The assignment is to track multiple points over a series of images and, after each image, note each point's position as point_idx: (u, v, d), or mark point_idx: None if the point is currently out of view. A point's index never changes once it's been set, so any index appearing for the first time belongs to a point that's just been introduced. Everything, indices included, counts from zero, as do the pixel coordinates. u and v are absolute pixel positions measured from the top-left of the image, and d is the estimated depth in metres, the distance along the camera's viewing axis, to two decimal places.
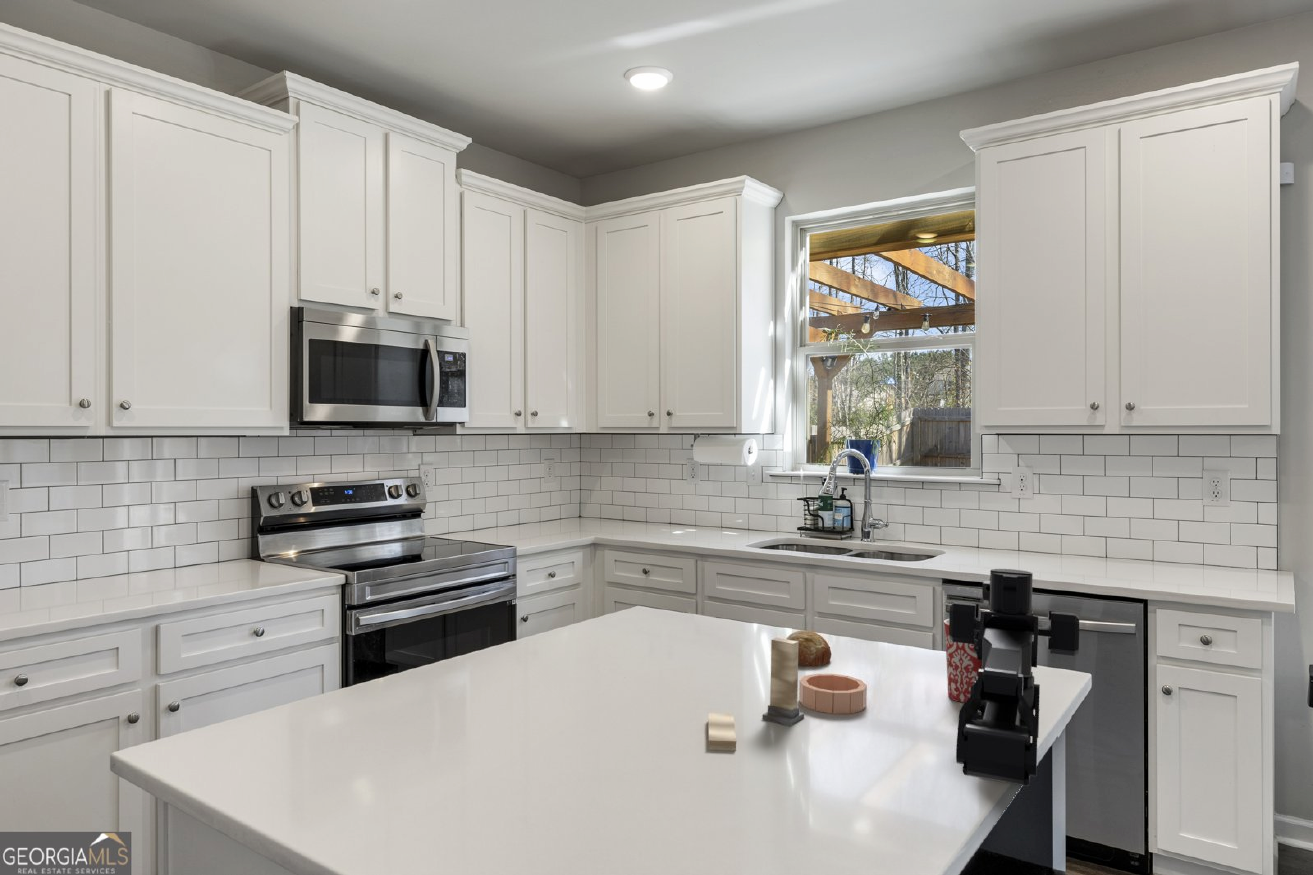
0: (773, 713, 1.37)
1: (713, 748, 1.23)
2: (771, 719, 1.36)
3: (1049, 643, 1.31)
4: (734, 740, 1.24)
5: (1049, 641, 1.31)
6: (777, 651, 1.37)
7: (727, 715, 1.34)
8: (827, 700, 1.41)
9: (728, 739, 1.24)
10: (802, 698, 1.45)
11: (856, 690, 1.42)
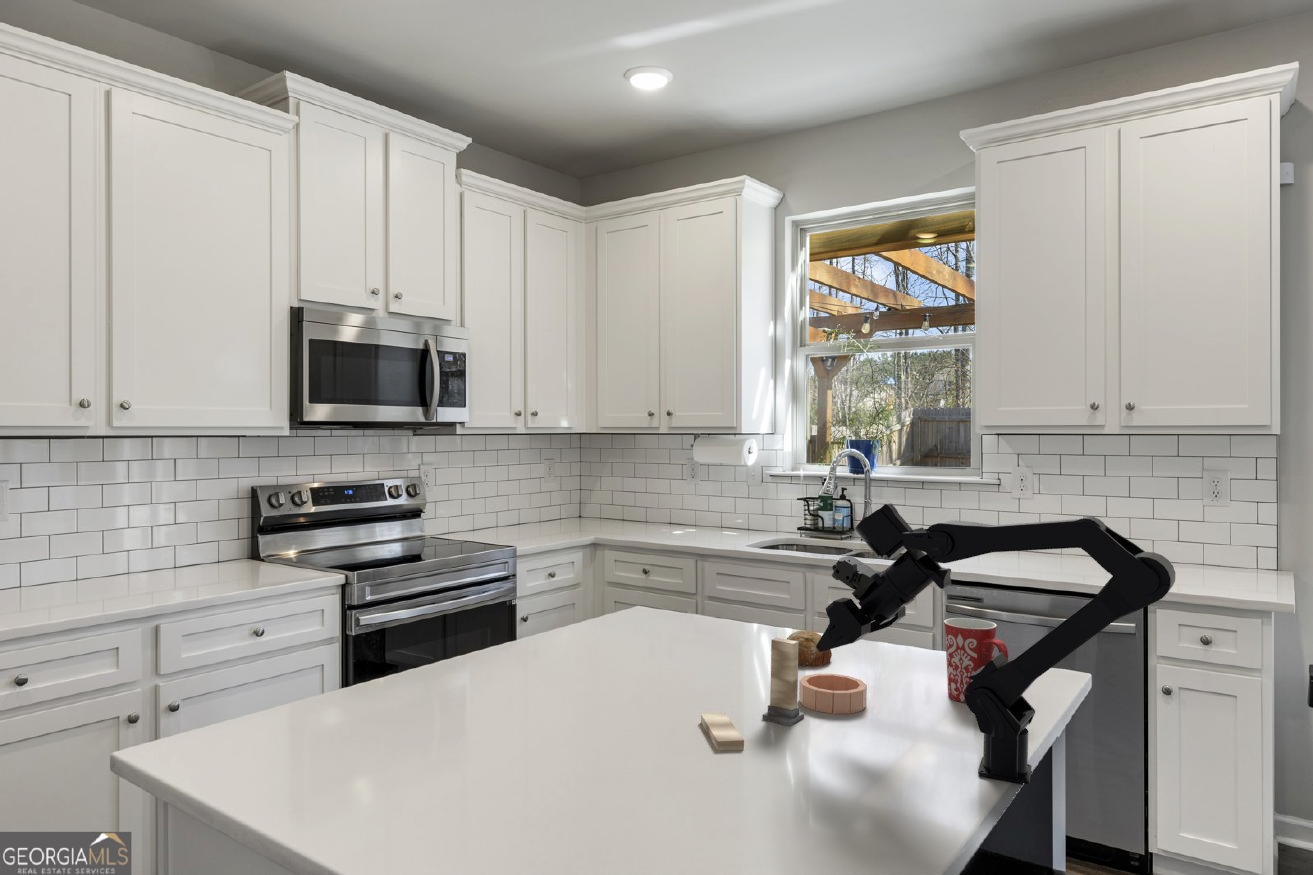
0: (773, 713, 1.37)
1: (721, 749, 1.23)
2: (771, 719, 1.36)
3: (883, 622, 1.33)
4: (741, 739, 1.24)
5: None
6: (777, 651, 1.37)
7: (720, 715, 1.34)
8: (827, 700, 1.41)
9: (736, 739, 1.24)
10: (802, 698, 1.45)
11: (856, 690, 1.42)
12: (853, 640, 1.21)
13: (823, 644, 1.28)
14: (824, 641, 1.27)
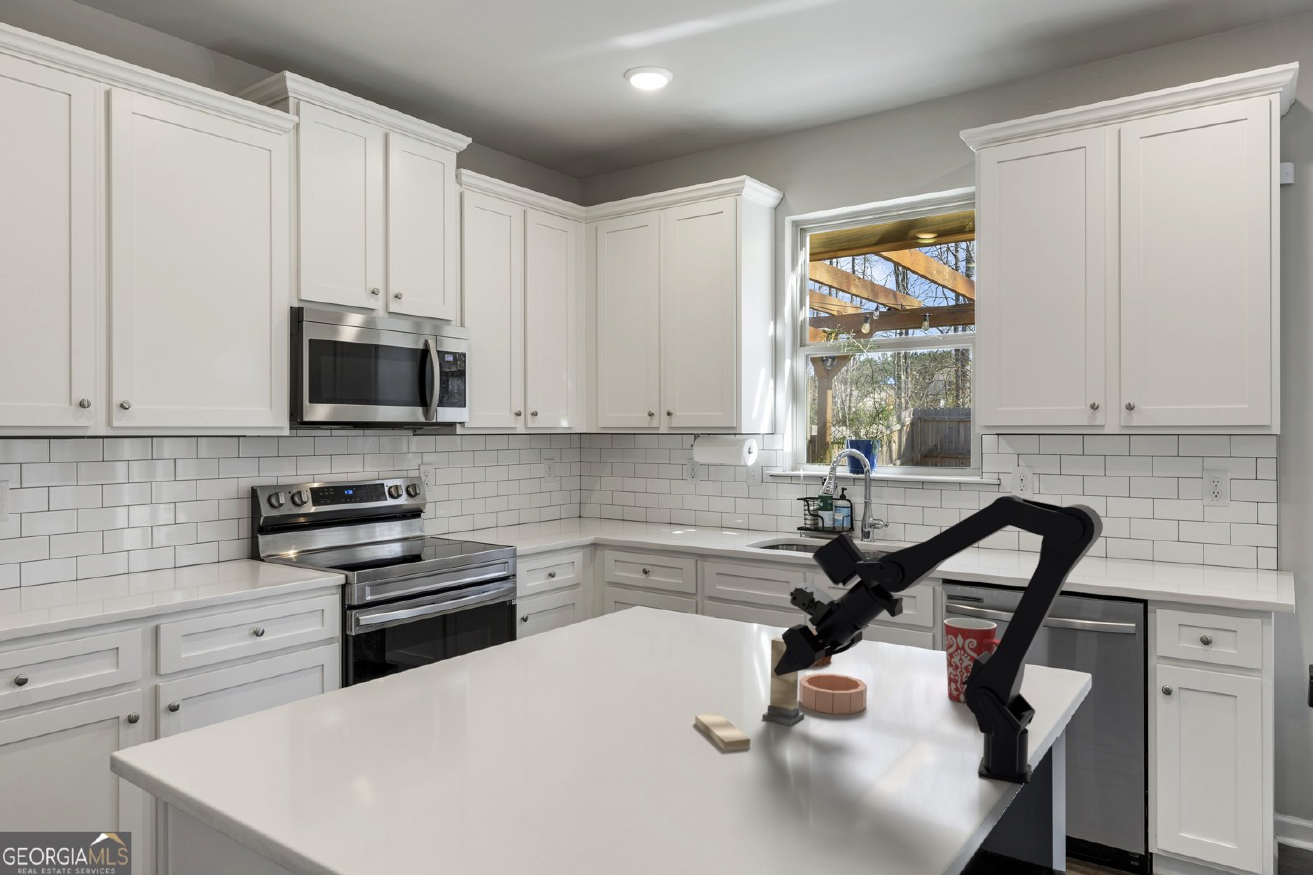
0: (773, 713, 1.37)
1: (729, 749, 1.23)
2: (771, 719, 1.36)
3: (840, 646, 1.37)
4: (747, 738, 1.25)
5: None
6: (777, 651, 1.37)
7: (715, 715, 1.34)
8: (827, 700, 1.41)
9: (741, 738, 1.25)
10: (802, 698, 1.45)
11: (856, 690, 1.42)
12: (807, 666, 1.25)
13: (780, 668, 1.32)
14: (781, 666, 1.32)
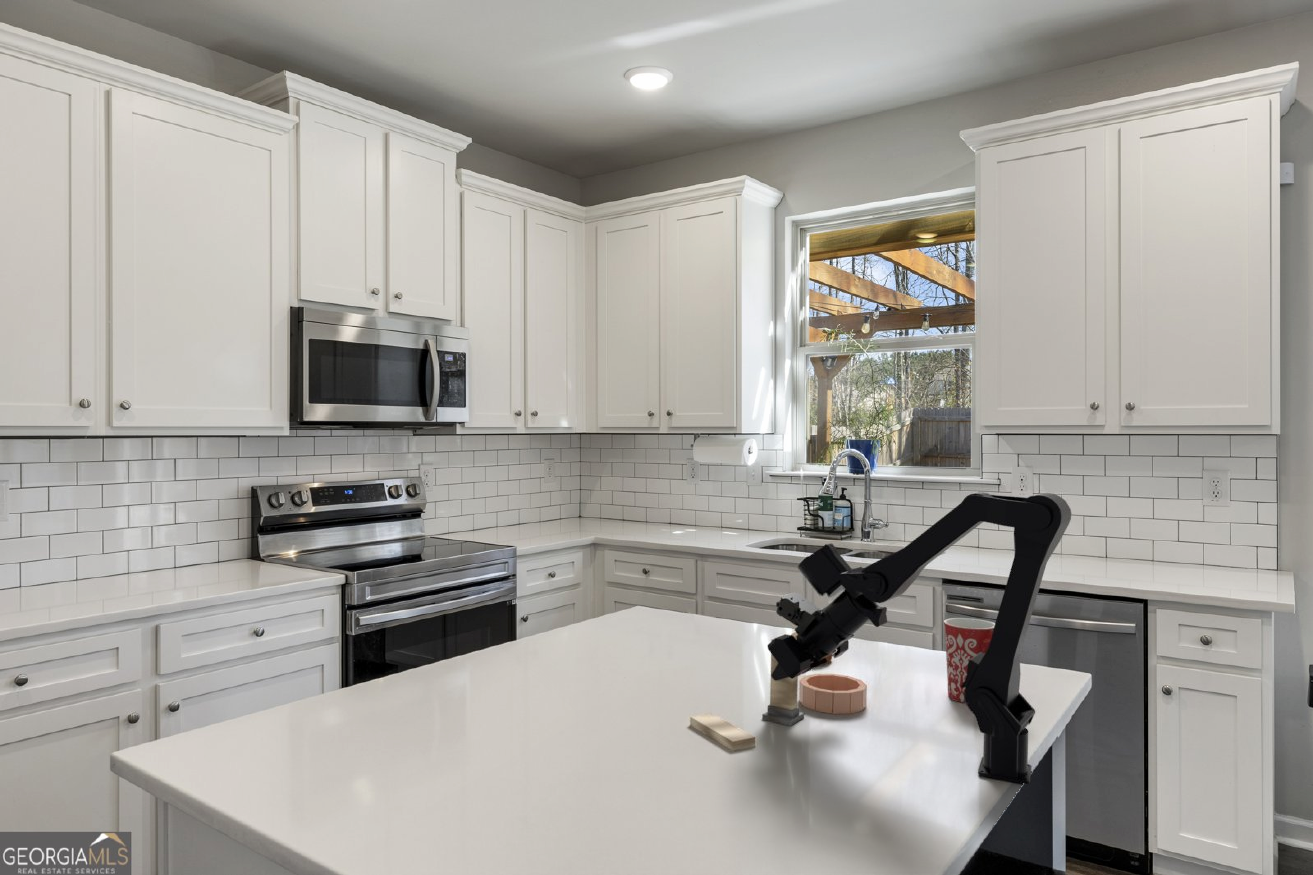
0: (773, 713, 1.37)
1: (736, 748, 1.24)
2: (771, 719, 1.36)
3: (817, 660, 1.36)
4: (752, 736, 1.25)
5: (816, 658, 1.36)
6: None
7: (709, 715, 1.34)
8: (827, 700, 1.41)
9: (747, 737, 1.25)
10: (802, 698, 1.45)
11: (856, 690, 1.42)
12: (793, 676, 1.27)
13: (778, 673, 1.36)
14: (778, 671, 1.36)
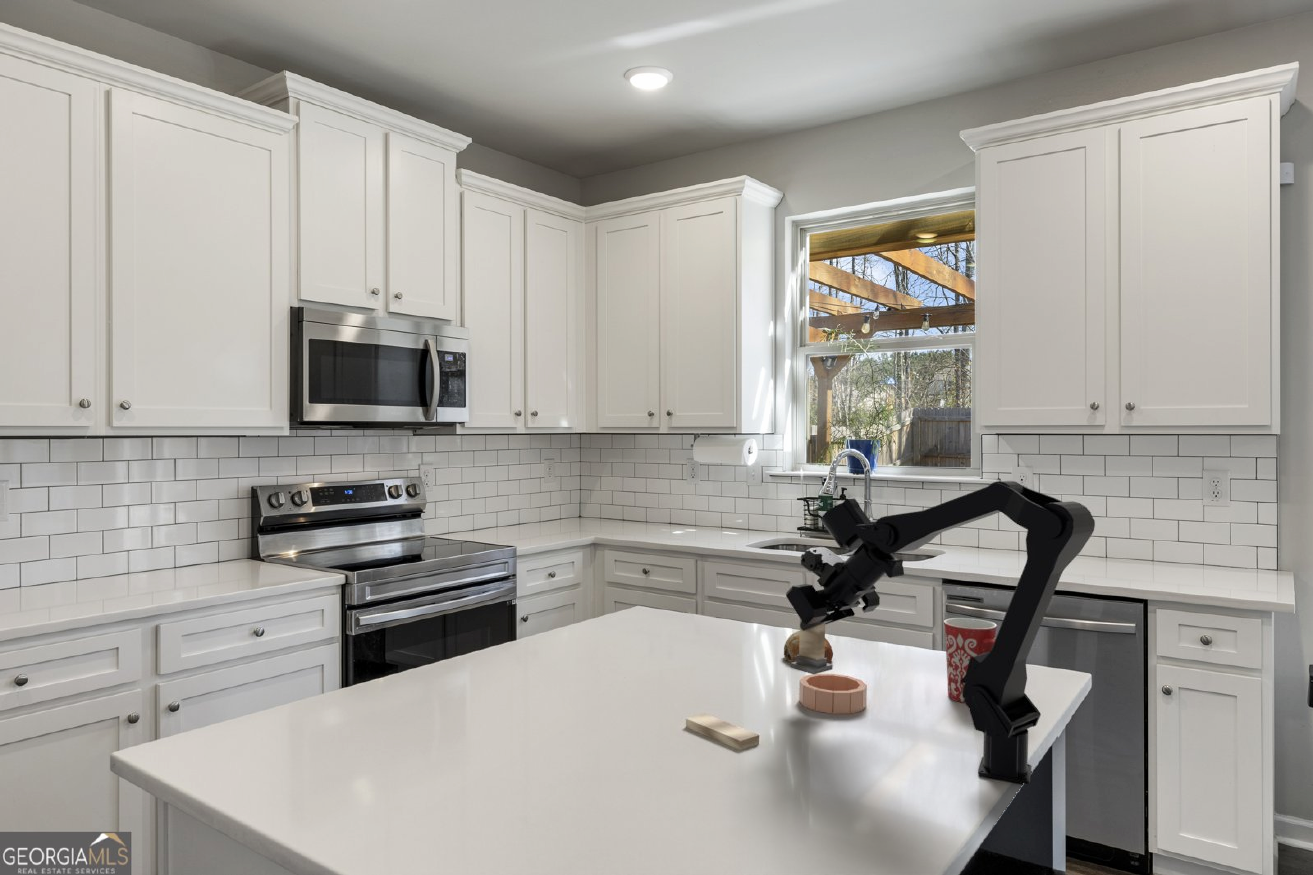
0: (801, 662, 1.43)
1: (743, 747, 1.24)
2: (798, 667, 1.42)
3: (843, 612, 1.40)
4: (756, 734, 1.26)
5: (841, 610, 1.40)
6: None
7: (704, 716, 1.34)
8: (827, 700, 1.41)
9: (751, 735, 1.26)
10: (802, 698, 1.45)
11: (856, 690, 1.42)
12: (807, 622, 1.32)
13: (804, 623, 1.42)
14: None
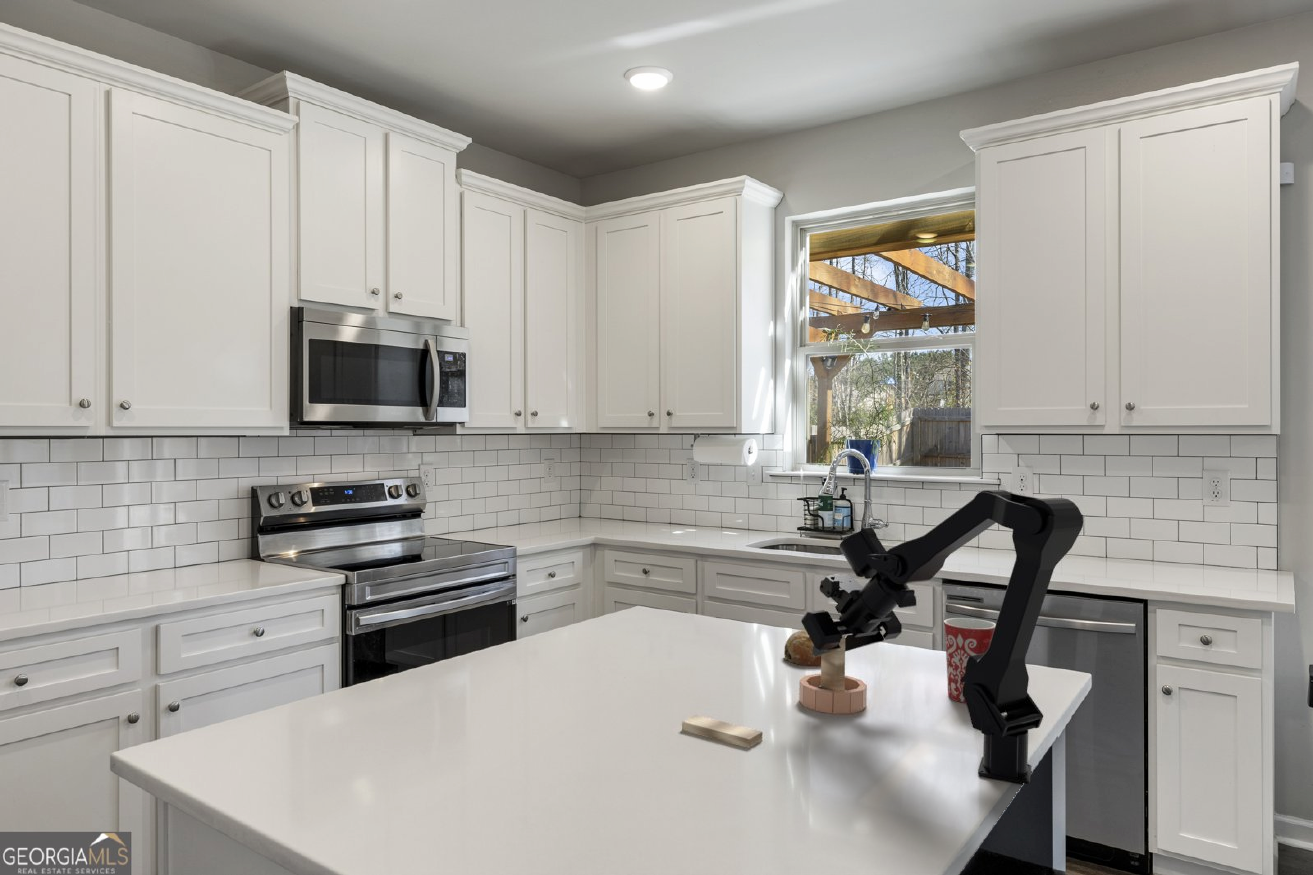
0: None
1: (751, 745, 1.25)
2: None
3: (871, 637, 1.44)
4: (759, 731, 1.27)
5: (870, 636, 1.44)
6: None
7: (698, 717, 1.33)
8: (827, 700, 1.41)
9: (755, 732, 1.27)
10: (802, 698, 1.45)
11: (856, 690, 1.42)
12: (819, 648, 1.36)
13: (816, 650, 1.44)
14: None
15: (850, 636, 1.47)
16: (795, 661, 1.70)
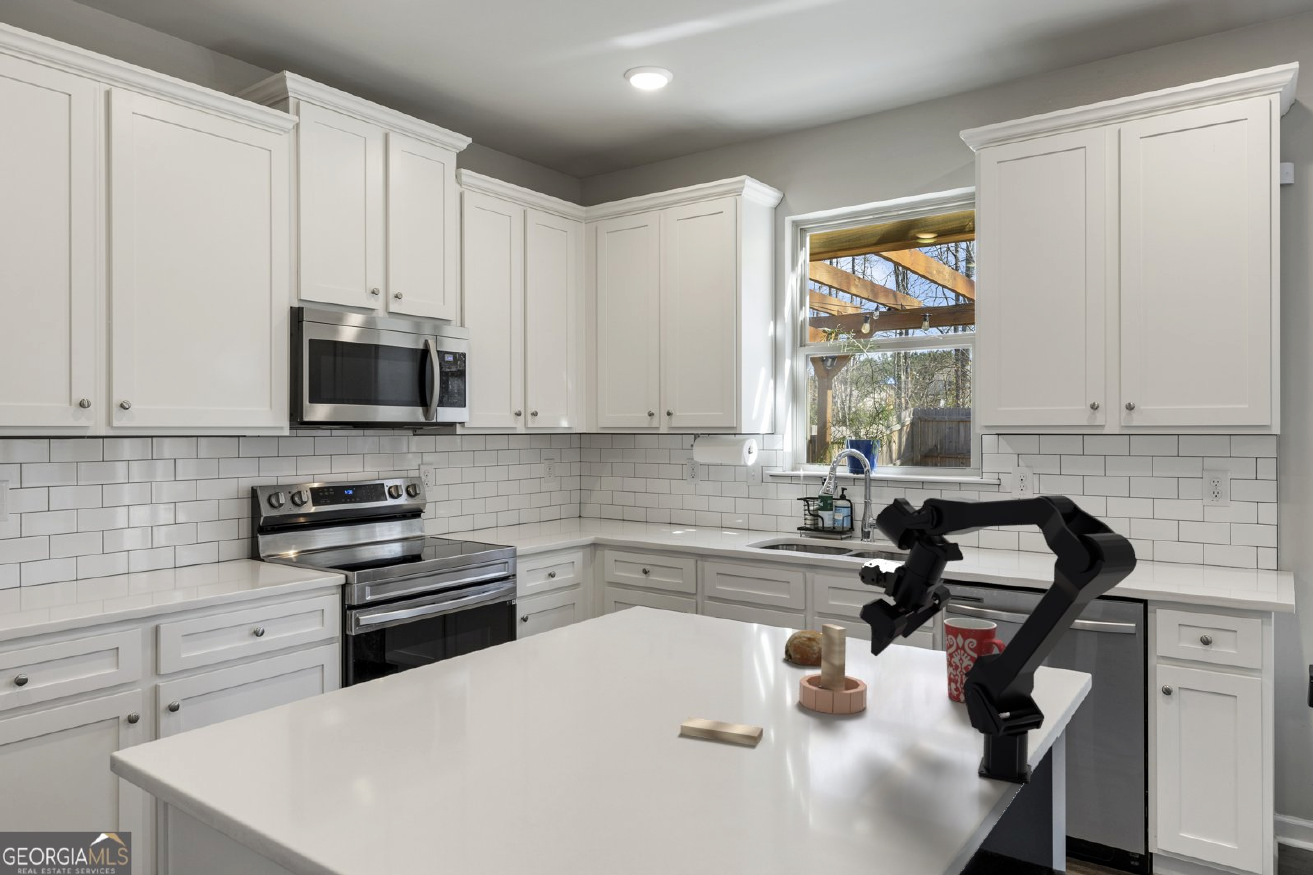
0: None
1: (757, 742, 1.26)
2: None
3: (931, 609, 1.37)
4: (760, 728, 1.29)
5: (929, 608, 1.37)
6: (826, 636, 1.46)
7: (693, 720, 1.32)
8: (827, 700, 1.41)
9: (757, 729, 1.28)
10: (802, 698, 1.45)
11: (856, 690, 1.42)
12: (891, 636, 1.27)
13: (875, 648, 1.34)
14: (874, 645, 1.33)
15: (908, 618, 1.40)
16: (795, 661, 1.70)
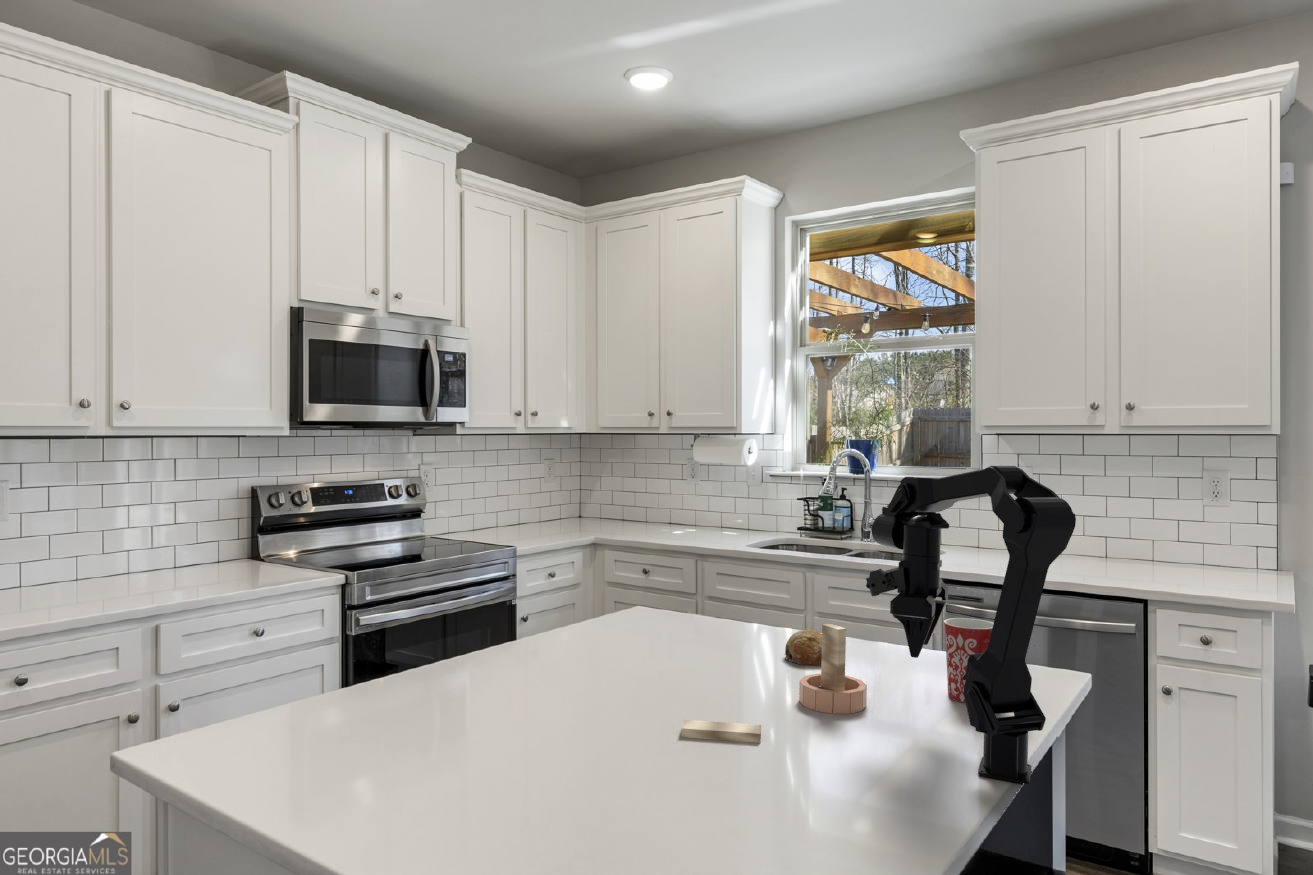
0: None
1: (760, 739, 1.27)
2: None
3: (938, 603, 1.39)
4: (758, 725, 1.30)
5: (936, 603, 1.40)
6: (826, 636, 1.46)
7: (690, 722, 1.31)
8: (827, 700, 1.41)
9: (757, 726, 1.30)
10: (802, 698, 1.45)
11: (856, 690, 1.42)
12: (930, 615, 1.26)
13: (914, 648, 1.31)
14: (913, 644, 1.31)
15: None
16: (796, 661, 1.70)
